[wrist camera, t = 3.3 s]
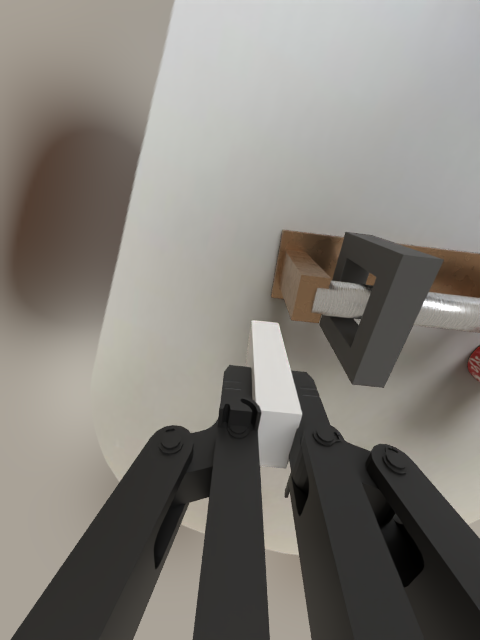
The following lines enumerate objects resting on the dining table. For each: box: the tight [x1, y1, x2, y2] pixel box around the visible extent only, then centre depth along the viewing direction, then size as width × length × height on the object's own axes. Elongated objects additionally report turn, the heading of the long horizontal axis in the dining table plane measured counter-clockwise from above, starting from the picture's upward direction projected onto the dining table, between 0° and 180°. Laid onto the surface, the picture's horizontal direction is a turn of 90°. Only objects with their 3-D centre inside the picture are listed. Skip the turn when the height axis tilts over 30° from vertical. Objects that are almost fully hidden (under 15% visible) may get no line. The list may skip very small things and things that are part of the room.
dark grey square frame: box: [319, 232, 444, 388], centre depth 22 cm, size 2×10×10 cm, turn 173°
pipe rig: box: [271, 230, 480, 333], centre depth 26 cm, size 29×8×12 cm, turn 84°
